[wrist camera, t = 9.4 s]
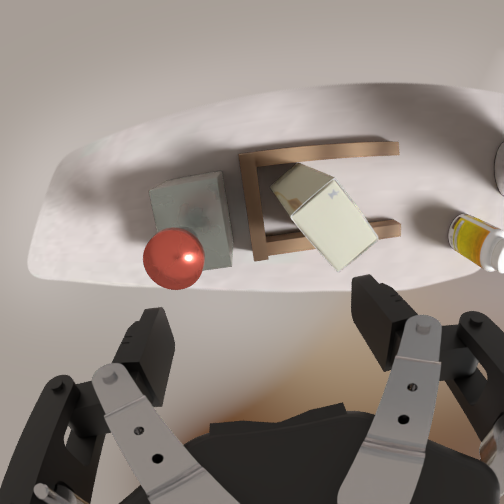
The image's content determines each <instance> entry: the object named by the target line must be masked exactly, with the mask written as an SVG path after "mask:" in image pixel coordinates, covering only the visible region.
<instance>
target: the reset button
mask: <svg viewBox="0 0 504 504" xmlns="http://www.w3.org/2000/svg"><path fill="white" fill-rule="evenodd" d="M204 262H205V253H204V249H203V246H202V244H201V243H200V241H199V239H198V236H197V234H196V233H195V232H194V231H193V230H192V229H190V228H188V227H178V228H166V229H163V230H161V231H159V232H158V233H157V234H155V235H154V236H153V238H152V239H151V240H150V241H149V242H148V244H147V245H146V247H145V250H144V254H143V263H144V267H145V270H146V272H147V274H148V275H149V277H150V278H151V279H152V280H153V281H154V282H155V283H157V284H158V285H160V286H162V287H164V288H167V289H171V290H180V289H185V288H187V287H190V286H191V285H193V284H194V283H195V282H196V281H197V280H198V279H199V277H200V275H201V273H202V270H203V266H204Z"/></svg>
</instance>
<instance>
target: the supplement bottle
mask: <svg viewBox="0 0 504 504" xmlns="http://www.w3.org/2000/svg"><path fill="white" fill-rule="evenodd" d="M448 238H449V243H450V245H451V247H452V248H453V249H454V250H455V251H457V252H458V253H460V254H461V255H463V256H464V257H466V258H468V259H469V260H471V261H472V262H474V263H475V264H477V265H478V266H480V267H481V268H483V269H484V270H486V271H494V270H497V271H499V272H500V273H504V231H502V230H501V229H499V228H497V227H495V226H493V225H491V224H488V223H486V222H484V221H482V220H480V219H477V218H475V217H473V216H471V215H468V214H461V215H459V216H457V217H456V218H455V219H454V220H453V222H452V224H451V226H450V229H449V235H448Z"/></svg>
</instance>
